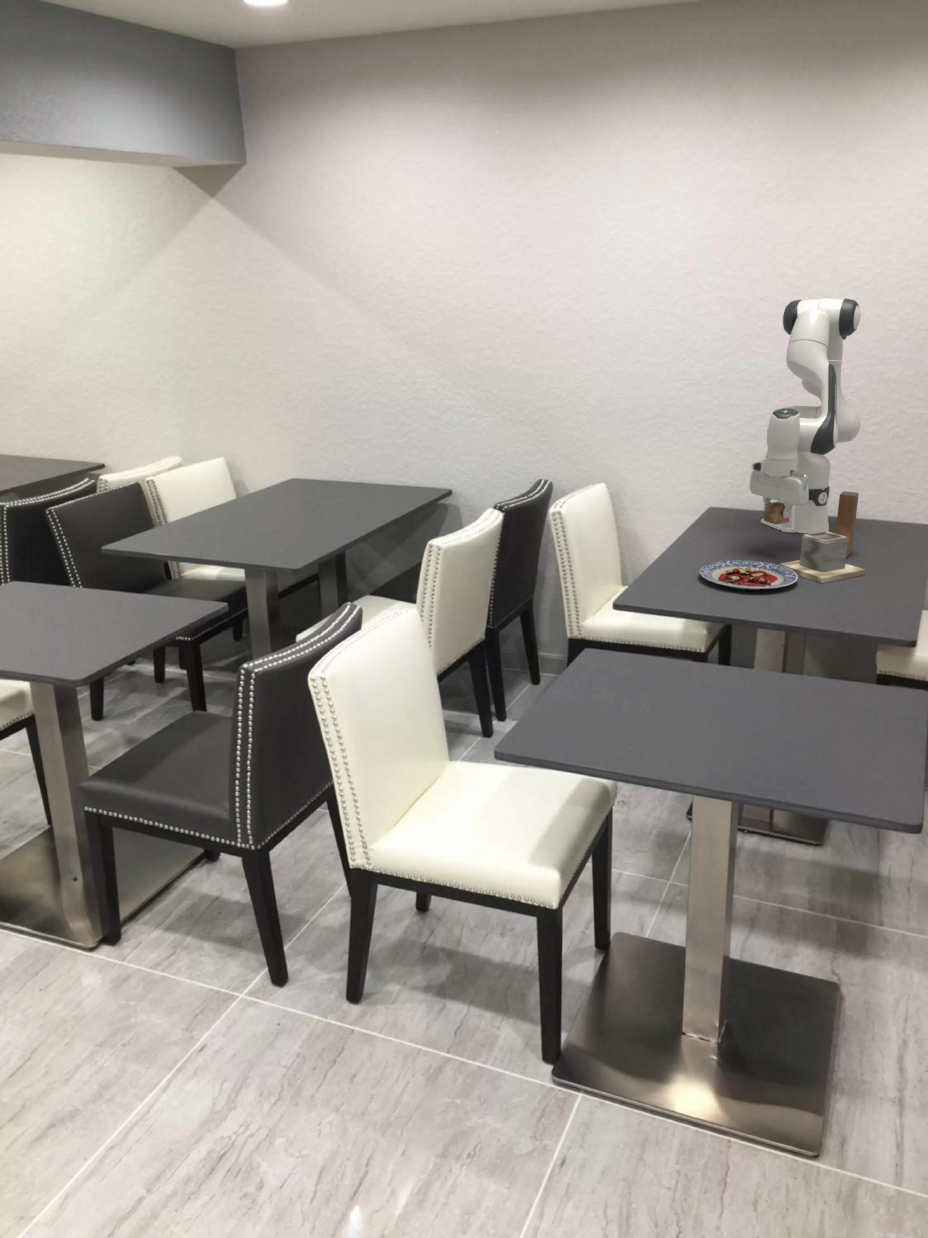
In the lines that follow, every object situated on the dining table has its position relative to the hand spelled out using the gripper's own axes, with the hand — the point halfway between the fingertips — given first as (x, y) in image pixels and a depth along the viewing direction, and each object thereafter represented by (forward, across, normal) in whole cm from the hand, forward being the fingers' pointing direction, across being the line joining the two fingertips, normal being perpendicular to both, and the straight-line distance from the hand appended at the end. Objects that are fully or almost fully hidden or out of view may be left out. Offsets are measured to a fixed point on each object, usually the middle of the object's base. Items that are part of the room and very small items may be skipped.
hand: (776, 514), depth 292 cm
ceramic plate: (+12, -14, +23) cm, 30 cm away
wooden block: (+13, -8, -18) cm, 24 cm away
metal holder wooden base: (+12, -18, 0) cm, 22 cm away
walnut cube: (+2, 0, 0) cm, 2 cm away
